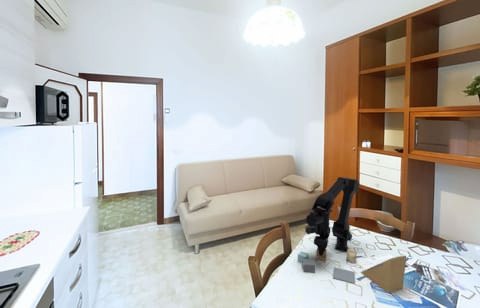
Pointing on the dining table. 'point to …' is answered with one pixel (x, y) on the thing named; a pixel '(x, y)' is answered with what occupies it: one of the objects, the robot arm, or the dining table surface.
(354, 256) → the beech cylinder
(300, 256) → the teal block
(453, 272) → the dining table surface
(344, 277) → the felt pad
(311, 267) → the charcoal block
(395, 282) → the sandwich container
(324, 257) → the walnut block
